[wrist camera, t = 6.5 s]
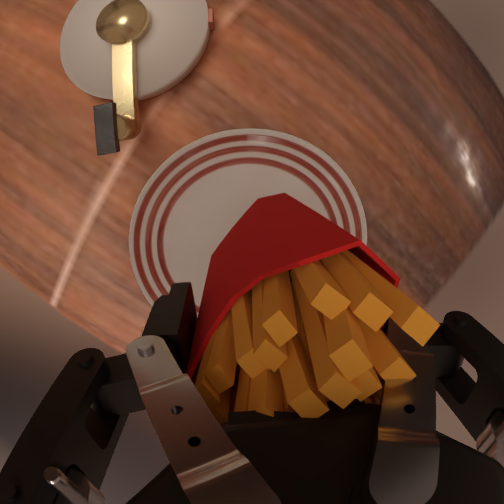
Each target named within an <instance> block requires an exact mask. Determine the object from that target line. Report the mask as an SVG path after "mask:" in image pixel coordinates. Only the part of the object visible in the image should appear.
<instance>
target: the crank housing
mask: <svg viewBox="0 0 504 504" xmlns="http://www.w3.org/2000/svg"><path fill="white" fill-rule="evenodd" d="M112 1H114V0H78V1H77V3H76V4H75V5H74V7H73V8H72V10H71V12H70V13H69V15H68V17H67V19H66V21H65V24H64V27H63V30H62V34H61V39H60V57H61V62H62V65H63V68H64V71H65V72H66V74H67V76H68V78H69V79H70V80H71V81H72V83H73V84H74V85H76V86H77V87H78V88H79V89H81V90H82V91H84V92H85V93H88V94H90V95H92V96H95V97H99V98H104V99H110V100H113V84H112V45H111V44H109V43H108V42H106V41H104V40H103V39H101V38H100V37H99V36H98V34H97V31H96V21H97V18H98V16H99V14H100V12H101V11H102V10H103V8H104V7H105V6H107V5H108V4H109V3H111V2H112ZM140 1H141V2H142V3H143V5H144V6H145V7H146V8H147V10H148V11H149V13H150V15H151V25H150V28H149V30H148V32H147V33H146V35H145V36H144V37H143V38H142V39H141V40H139V41H138V42H137V43H136V63H137V93H138V101H140V100H145V99H149V98H152V97H155V96H158V95H160V94H162V93H164V92H166V91H168V90H169V89H171V88H173V87H174V86H176V85H177V84H178V83H180V82H181V81H182V80H184V79H185V78H186V77H187V76H188V75H189V74H190V73H191V72H192V70H193V69H194V68H195V67H196V65H197V64H198V62H199V61H200V59H201V58H202V56H203V54H204V52H205V50H206V47H207V44H208V40H209V35H210V30H214V17H213V10H212V8H211V9H208V7H207V3H206V0H140Z"/></svg>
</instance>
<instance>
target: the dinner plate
mask: <svg viewBox="0 0 504 504" xmlns="http://www.w3.org/2000/svg"><path fill="white" fill-rule="evenodd" d="M280 193H286V194H288V195H290V196H291V197H293V198H295V199H296V200H298V201H300V202H301V203H303V204H304V205H306V206H308V207H309V208H311V209H313V210H314V211H316V212H317V213H319V214H321V215H322V216H324V217H325V218H327V219H329V220H330V221H332V222H333V223H335V224H336V225H338V226H339V227H341V228H343V229H344V230H346V231H347V232H349V233H350V234H352V235H353V236H355V237H356V238H358V239H359V240H361V241H362V242H363V243H364V244H365V245H366V246H367V225H366V218H365V213H364V209H363V206H362V203H361V200H360V198H359V196H358V193H357V191H356V189H355V187H354V185H353V184H352V182H351V181H350V179H349V178H348V176H347V175H346V173H345V172H344V171H343V170H342V169H341V167H340V166H339V165H338V164H337V163H336V162H335V161H334V160H333V159H332V158H331V157H329V156H328V155H327V154H326V153H325V152H323V151H322V150H320V149H319V148H317V147H316V146H314V145H312V144H311V143H309V142H307V141H305V140H303V139H300V138H298V137H295V136H292V135H290V134H286V133H283V132H279V131H274V130H269V129H257V128H242V129H232V130H226V131H221V132H217V133H213V134H210V135H208V136H205V137H202V138H200V139H198V140H196V141H194V142H192V143H190V144H188V145H186V146H184V147H183V148H181V149H180V150H178V151H177V152H175V153H174V154H173V155H172V156H170V157H169V158H168V159H167V160H166V161H165V162H163V163H162V164H161V165H160V166H159V168H158V169H157V170H156V171H155V172H154V173H153V174H152V176H151V177H150V178H149V180H148V181H147V183H146V184H145V186H144V188H143V189H142V191H141V193H140V195H139V197H138V200H137V202H136V204H135V207H134V210H133V213H132V217H131V222H130V229H129V253H130V260H131V265H132V269H133V273H134V275H135V278H136V280H137V283H138V285H139V287H140V289H141V291H142V293H143V294H144V296H145V298H146V299H147V301H148V302H149V303H150V305H151V306H153V304H154V302H155V301H156V300H157V299H158V298H159V297H160V296H161V295H169V292H170V289H171V286H172V284H173V283H180V282H191V285H192V290H193V295H194V301H195V306H196V312H197V318H198V313H199V308H200V304H201V299H202V295H203V290H204V286H205V281H206V277H207V272H208V268H209V263H210V259H211V255H212V254H213V252H214V251H215V250H216V248H217V247H218V245H219V244H220V243H221V241H222V240H223V239H224V238H225V236H226V235H227V234H228V232H229V231H230V230H231V229H232V227H233V226H234V225H235V224H236V223H237V221H238V220H239V219H240V218H241V217H242V215H243V214H244V213H245V212H246V211H247V210H248V209H249V208H250V206H251V205H252V204H253V203H254V202H255V201H256V200H257V199H258V198H262V197H266V196H271V195H276V194H280Z"/></svg>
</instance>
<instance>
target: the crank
mask: <svg viewBox="0 0 504 504" xmlns="http://www.w3.org/2000/svg"><path fill="white" fill-rule="evenodd" d="M150 25H151V15H150V13H149V11H148V10H147V8H146V7H145V6H144V5H143V3H142V2H141V1H140V0H114V1H112V2H111V3H109V4H108V5H107V6H105V7H104V8H103V10H102V11H101V12H100V14H99V16H98V18H97V21H96V31H97V34H98V36H99V37H100V38H101V39H103V40H104V41H106V42H108V43H109V44H111V45H112V84H113V102H111V103H106V104H102V105H97V106H94V122H95V134H96V145H97V154H98V155H104V154H110V153H116V152H119V151H120V145H119V141H123V140H129V139H133V138H135V137H137V136H138V135H139V133H140V131H141V122H140V120H139V112H138V93H137V63H136V43H137V42H138V41H139V40H141V39H142V38H143V37H144V36H145V35H146V33H147V32H148V30H149V28H150Z"/></svg>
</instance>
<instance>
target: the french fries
mask: <svg viewBox="0 0 504 504" xmlns="http://www.w3.org/2000/svg"><path fill="white" fill-rule="evenodd" d="M399 281H400V278H399V277H398V276H397V275H396V274H395V273H394V272H393V271H392V270H391V269H390V268H389V267H388V266H387V265H386V264H385V263H384V262H383V261H382V260H381V259H380V258H379V257H378V256H377V255H376V254H374V253H373V252H372V251H371V250H370V249H369V248H368V247H367V246H366V245H365V244H364V243H363V242H362V241H361V240H359V239H358V238H356V237H355V236H353V235H352V234H350V233H349V232H347V231H346V230H344V229H343V228H341V227H339V226H338V225H336V224H335V223H333V222H332V221H330V220H329V219H327V218H325V217H324V216H322V215H321V214H319V213H317V212H316V211H314V210H313V209H311V208H309V207H308V206H306V205H304V204H303V203H301V202H300V201H298V200H296V199H295V198H293V197H291V196H290V195H288V194H286V193H280V194H276V195H271V196H266V197H262V198H258V199H257V200H256V201H255V202H254V203H253V204H252V205H251V206H250V208H249V209H248V210H247V211H246V212H245V213H244V214H243V215H242V217H241V218H240V219H239V220H238V221H237V223H236V224H235V225H234V226H233V227H232V229H231V230H230V231H229V232H228V234H227V235H226V236H225V238H224V239H223V240H222V241H221V243H220V244H219V245H218V247H217V248H216V250H215V251H214V252H213V254H212V255H211V259H210V263H209V268H208V272H207V277H206V281H205V286H204V290H203V295H202V299H201V304H200V308H199V313H198V318H197V322H196V327H195V332H194V337H193V342H192V347H191V352H190V357H189V362H188V367H187V372H186V373H187V375H188V376H189V378H190V379H191V381H192V382H193V384H194V386H195V387H196V389H197V391H198V392H199V394H200V395H201V397H202V398H203V400H204V402H205V403H206V405H207V406H208V408H209V409H210V411H211V412H212V414H213V415H214V417H215V418H216V420H217V421H218V423H219V424H222V423H225V422H228V412H241V411H253V410H256V412H259V413H262V414H266V415H269V416H272V417H274V411H281V412H297V413H298V414H299V415H300V416H301V417H307V418H318V417H320V416H321V415H323V414H324V413H326V412H327V411H329V408H328V405H327V403H326V402H328V401H330V400H332V401H333V402H334V403H336V404H337V405H338V406H340V407H341V408H342V409H344V408H345V407H346V406H347V405H349V404H350V403H351V402H352V401H353V400H354V399H358V400H359V401H360V402H361V401H363V400H364V402H365V403H371V404H379V403H380V400H379V399H378V398H377V393H378V394H379V395H380V396H381V390H382V382H383V379H384V380H386V379H403V378H406V380H407V381H408V382H410V381H411V380H412V379H413V378H414V377H416V376H417V375H416V374H415V373H414V371H413V370H412V369H411V367H410V366H409V365H408V364H407V362H406V361H405V360H404V358H403V357H402V356H401V355H400V353H399V352H398V351H397V349H396V348H395V347H394V346H393V344H392V343H391V342H390V341H389V339H388V338H387V337H386V336H385V334H384V333H383V332H382V331H381V329H382V328H383V327H384V324H385V322H386V320H387V319H388V318H389V317H390V318H391V319H392V320H393V321H394V322H395V323H396V324H397V325H398V326H399V327H400V328H401V329H403V330H404V331H405V332H406V333H407V334H409V335H410V336H411V337H412V338H413V339H414V340H416V341H417V342H418V343H419V344H420V345H421V346H424V345H425V343H426V342H427V341H428V340H429V339H430V337H431V336H432V335H433V334H434V332H435V331H436V330H437V329H438V327H439V326H440V324H439V323H438V322H437V321H435V320H434V319H433V318H432V317H431V316H430V315H429V314H428V313H426V312H425V311H424V310H423V309H422V308H421V307H420V306H418V305H417V304H416V303H415V302H413V301H412V300H411V299H410V298H409V297H407V296H406V295H405V294H404V293H402V292H401V291H400V290H399V289H397V287H398V284H399Z"/></svg>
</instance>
